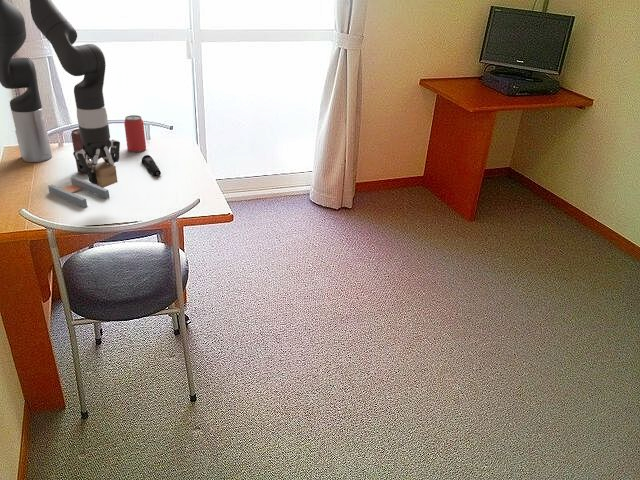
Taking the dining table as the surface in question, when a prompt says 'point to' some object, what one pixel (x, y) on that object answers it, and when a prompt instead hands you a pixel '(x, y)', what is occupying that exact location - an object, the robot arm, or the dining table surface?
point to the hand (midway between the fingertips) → (102, 180)
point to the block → (105, 174)
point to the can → (78, 146)
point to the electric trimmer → (151, 165)
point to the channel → (76, 186)
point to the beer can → (135, 133)
